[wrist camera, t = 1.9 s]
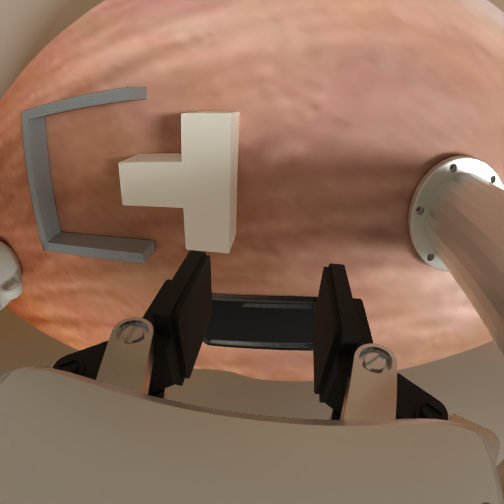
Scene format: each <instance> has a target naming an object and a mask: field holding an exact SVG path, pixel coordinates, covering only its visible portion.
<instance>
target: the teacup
mask: <svg viewBox="0 0 504 504" xmlns="http://www.w3.org/2000/svg"><path fill="white" fill-rule="evenodd" d="M21 277H22V274H21V267H20V263H19V261H18V258H17V256H16V255H15V253H14V252H13V250H12V249H11V248H10V247H9V246H8V245H6V244H4V243H3V242H1V241H0V310H1V309H2V308H3V307H5V306H6V305H7V304H8V303H9V302H10V301H11V300H12V299H15V298H17V297H18V296H19V295H20V294H21V293H22V291H23V282H22V279H21Z"/></svg>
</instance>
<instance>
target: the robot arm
mask: <svg viewBox="0 0 504 504" xmlns="http://www.w3.org/2000/svg"><path fill="white" fill-rule="evenodd" d="M450 165H451V167H450ZM418 207H419V208H418ZM417 208H418V209H417ZM416 209H417V210H416ZM408 226H409V234H410V238H411V242H412V244H413V246H414V248H415V250H416V251H417V253H418V254H419V256H420V257H421V258H422V259H423V260H424V261H425V263H427V264H428V265H430V266H431V267H433V268H435V269H438V270H441V271H449V272H450V273H451V274H452V276H453V277H454V279H455V280H456V281H457V283H458V284H459V286H460V287H461V289H462V290H463V291H464V293H465V294H466V296H467V297H468V299H469V300H470V302H471V303H472V305H473V307H474V308H475V310H476V311H477V313H478V314H479V316H480V318H481V319H482V321H483V322H484V324H485V326H486V327H487V329H488V331H489V332H490V334H491V336H492V338H493V339H494V341H495V342H496V344H497V346H498V348H499V350H500V351H501V353H502V355H503V357H504V188H503V185H502V183H501V181H500V179H499V177H498V175H497V174H496V172H495V171H494V170H493V169H492V168H491V167H490V166H489V165H488V164H486V163H485V162H483V161H481V160H479V159H477V158H474V157H471V156H461V155H459V156H454V157H449V158H447V159H445V160H443V161H441V162H439V163H438V164H436V165H435V166H434V167H432V168H431V169H430V170H429V171H428V172H427V174H426V175H425V176H424V177H423V178H422V180H421V181H420V183H419V185H418V186H417V188H416V190H415V193H414V195H413V197H412V201H411V204H410V208H409V217H408ZM211 316H212V292H211V267H210V256H209V255H206V254H205V251H195V250H191V251H190V252H189V253H188V255H187V257H186V258H185V260H184V261H183V263H182V264H181V266H180V268H179V269H178V271H177V273H176V274H175V276H174V277H173V279H172V280H169V279H168V280H166V281H165V283H164V284H163V286H162V287H161V289H160V291H159V292H158V294H157V295H156V297H155V299H154V300H153V302H152V303H151V305H150V307H149V308H148V310H147V311H146V313H145V315H144V316H143V318H139V317H132V318H127V319H124V320H122V321H120V322H119V323H118V324H116V325H115V327H114V328H113V330H112V333H111V335H110V338H109V341H106V342H103V343H100V344H98V345H95V346H92V347H89V348H86V349H83V350H81V351H78V352H75V353H73V354H69V355H66V356H64V357H62V358H61V359H60V360H58V361H57V362H56V363H55V365H54V366H53V367H52V366H51V365H50V364H47V365H42V366H36V367H27V368H20V369H17V370H14V371H10V372H7V373H6V374H4V375H3V376H2V378H1V379H0V504H504V459H503V460H502V461H501V462H499V463H498V464H497V465H496V460H497V456H498V453H499V446H500V442H499V439H498V437H497V435H496V434H495V433H494V432H493V431H491V430H489V429H487V428H485V427H482V426H480V425H478V424H475V423H474V422H471V421H469V420H467V419H465V418H463V417H460V416H458V415H456V414H452V415H451V416H450V415H448V413H447V410H446V408H445V406H444V405H443V404H442V403H441V402H440V401H439V400H437V399H436V398H434V397H433V396H431V395H430V394H428V393H426V392H425V391H423V390H422V389H421V388H419V387H418V386H416V385H415V384H413V383H412V382H410V381H409V380H407V379H406V378H405V377H403V376H402V375H400V374H399V373H397V360H396V357H395V355H394V354H393V353H392V352H391V351H390V350H389V349H388V348H386V347H384V346H382V345H379V344H373V340H372V336H371V332H370V328H369V324H368V321H367V317H366V313H365V309H364V305H363V302H362V300H361V299H355V298H352V294H351V290H350V286H349V282H348V278H347V274H346V270H345V266H344V265H341V264H329V267H324V269H323V274H322V279H321V285H320V290H319V295H318V300H317V305H316V309H315V314H314V319H313V354H314V392H315V394H319V397H320V398H319V399H320V402H324V403H326V404H327V405H328V406H330V407H331V408H332V409H331V412H330V417H329V420H318V419H298V418H285V417H273V416H263V415H254V414H246V413H238V412H231V411H224V410H219V409H212V408H207V407H201V406H195V405H190V404H185V403H181V402H176V401H171V400H167V398H168V387H169V386H172V385H174V384H177V385H181V386H182V385H183V382H184V379H185V378H190V376H191V373H192V370H193V367H194V364H195V361H196V359H197V356H198V353H199V350H200V347H201V344H202V342H203V339H204V336H205V333H206V330H207V328H208V325H209V322H210V319H211Z"/></svg>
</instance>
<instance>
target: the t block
mask: <svg viewBox="0 0 504 504" xmlns="http://www.w3.org/2000/svg"><path fill="white" fill-rule="evenodd" d="M238 140H239V112H237V111H195V112H188V113H181V153H155V154H137V155H135V156H132V157H130V158H128V159H126V160H124V161H121V162H119V163H118V164H119V176H120V186H121V196H122V204H123V205H126V206H152V207H174V208H183V212H184V229H185V245H186V250H196V251H207V252H218V253H230V250H231V247H232V245H233V242H234V239H235V236H236V218H237V175H238Z"/></svg>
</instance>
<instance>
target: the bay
mask: <svg viewBox="0 0 504 504" xmlns="http://www.w3.org/2000/svg"><path fill="white" fill-rule="evenodd" d="M141 99H146V87H126V88H119V89H113V90H107V91H102V92H96V93H91V94H86V95H81V96H77V97H72V98H68V99H64V100H60V101H56V102H52V103H48V104H45V105H41V106H38V107H34V108H31V109H28V110H24V111H21V112H22V130H23V142H24V152H25V161H26V168H27V175H28V182H29V188H30V193H31V199H32V204H33V209H34V214H35V218H36V223H37V227H38V231H39V235H40V239H41V243H42V247H43V250H44V251H51V252H58V253H65V254H72V255H79V256H86V257H94V258H101V259H109V260H116V261H124V262H132V263H140V264H145V263H146V261H147V260H148V259H149V258H150V257H151V255H152V254H153V253H154V252H155V241H153V240H142V239H132V238H121V237H110V236H99V235H88V234H77V233H65V232H61V229H60V224H59V220H58V215H57V209H56V204H55V199H54V193H53V186H52V180H51V173H50V165H49V156H48V146H47V134H46V118H45V116H47V115H51V114H56V113H60V112H65V111H69V110H74V109H79V108H85V107H90V106H96V105H102V104H109V103H116V102H123V101H132V100H141Z"/></svg>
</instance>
